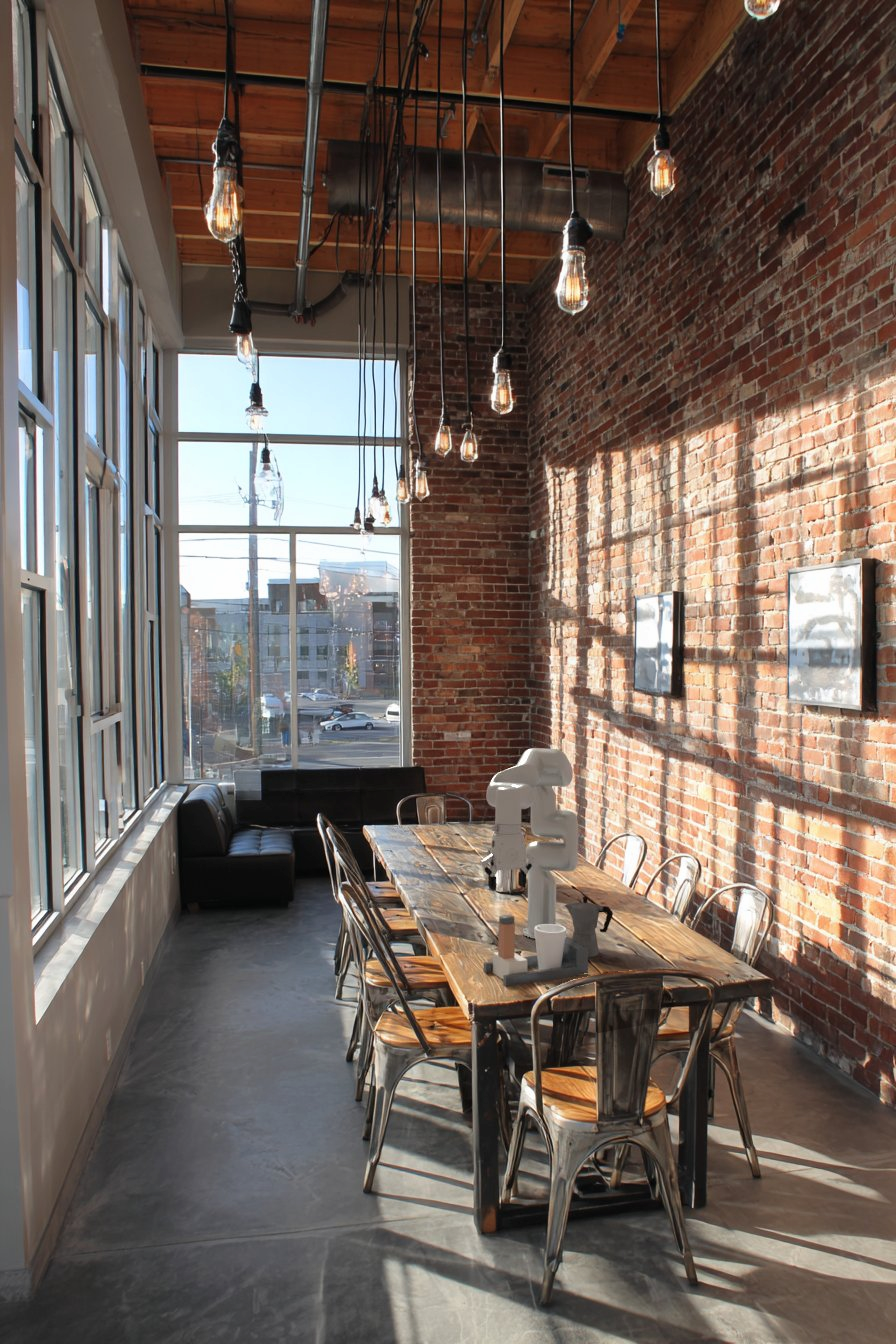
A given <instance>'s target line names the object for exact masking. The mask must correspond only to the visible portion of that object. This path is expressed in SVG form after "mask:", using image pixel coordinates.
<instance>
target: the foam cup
mask: <svg viewBox="0 0 896 1344" xmlns="http://www.w3.org/2000/svg"><path fill="white" fill-rule="evenodd" d="M534 936H535V946H536V955H537V958H538V966H537V967H538V970H544V969H551V968H558V967H561V964H562V957H563V950H564V943H565V938H566V936H567V928H566V927H565V926H563V925H560V924H556V925H555V924H542V925H537V926H535V928H534Z"/></svg>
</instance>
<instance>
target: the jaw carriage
mask: <svg viewBox="0 0 896 1344" xmlns="http://www.w3.org/2000/svg"><path fill="white" fill-rule="evenodd" d="M497 933H498V939H497V942H498V944H497V949H498V951H496V952H492V961H493V973H492V974H493V975H495V976H497V977H498V978H499V979H502V980H503V976H504V975H508V974H515V973H522V972H528V968H527V959H525V958H523V957H524V956H521V955H520V954H518V953H516V952H515V947H516V946H515V945H516V944H515V941H516V940H515V939H516V938H515V933H516V923H515V916H514V915H510V914H502V915H499V917H498V932H497Z"/></svg>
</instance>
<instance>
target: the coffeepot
mask: <svg viewBox="0 0 896 1344" xmlns="http://www.w3.org/2000/svg"><path fill="white" fill-rule="evenodd" d="M588 899H589V897H588V896H582V900H583V901H582V902H574V903H568V904H565V905H564V907H565V908H566V909H567V911H568V913H569V914H570V917H571V919H572V925H573V933H572V938H571V939H573V940H575V941H577V942H579V943H581V944H583V945H585V946H587V947H588V958H595V957H597V956H599V954H600V951H599V946H598V937H597V933H596V928H597V927H598V921H599V914H600V913H606V914H607V915H606V917H605V921H604V924H603V928H599V931H600V933H607V932H608V928H609V926H610V923H611V920H612V918H613V914H614V912H613V911H612V909H611V908H610V907H609V906H607V905H598V904H596V903H592V902H588Z"/></svg>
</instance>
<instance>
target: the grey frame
mask: <svg viewBox="0 0 896 1344" xmlns="http://www.w3.org/2000/svg"><path fill="white" fill-rule="evenodd" d="M522 957H523V958H525V959H527V969H529V968H536V967H538V958H537V954H536V955H531V956H528V955H527V956H522ZM483 973H484V974H494V973H493V960H491V961H485V962H483ZM584 973H588V974H589V957H588V947H587V946H585V945H583V944H581V943H579V942H577V941H575V940H573V939H572V938H571V937H569V936H567V935H566V938H565V943H564V950H563V957H562V964H561V967H558V968H551V969H544V970H539V969H538V970H530V971H527V972H522V973H515V974H508V975H504V976H503V979H502V980H503V981H502V982H503V984H502V985H503V986H504V987H514V986H520V985H526V984H534V983H542V982H546V981H554V980H562V979H568V978H569V977H570V978H574V977H573V976H576V977H579V976H580V975H579V974H584Z"/></svg>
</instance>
